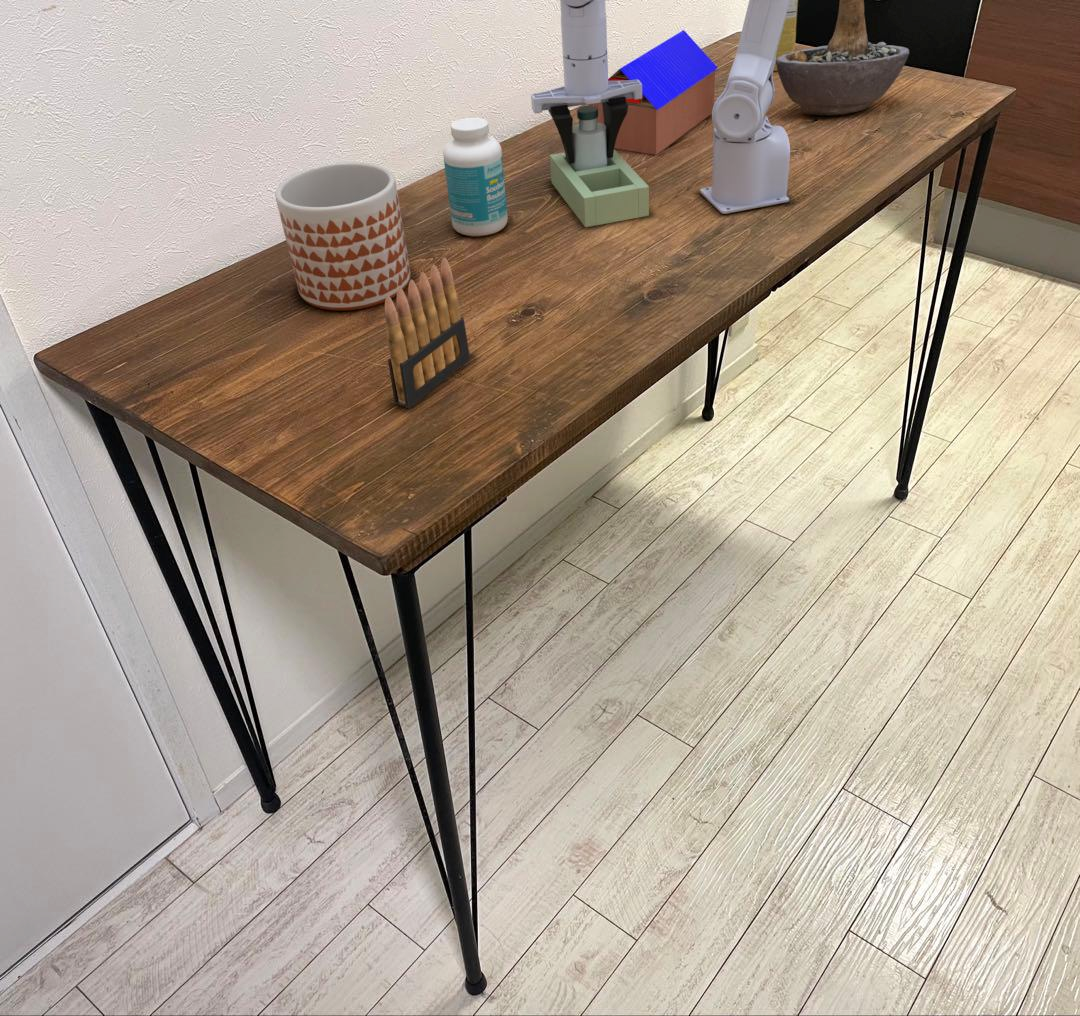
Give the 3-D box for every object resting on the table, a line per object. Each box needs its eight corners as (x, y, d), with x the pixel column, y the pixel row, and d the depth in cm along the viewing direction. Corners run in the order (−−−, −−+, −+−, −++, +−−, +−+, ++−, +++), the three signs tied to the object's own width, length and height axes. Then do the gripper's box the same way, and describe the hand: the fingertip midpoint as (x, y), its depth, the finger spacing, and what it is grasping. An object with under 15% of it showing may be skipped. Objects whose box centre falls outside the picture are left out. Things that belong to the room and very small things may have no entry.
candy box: (756, 57, 181) (762, -38, 172) (780, 54, 181) (787, -41, 172) (769, 72, 175) (775, -26, 165) (793, 69, 175) (802, -29, 165)
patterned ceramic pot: (379, 318, 117) (359, 213, 109) (277, 305, 122) (251, 203, 113) (429, 265, 127) (414, 164, 119) (334, 254, 131) (313, 157, 123)
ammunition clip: (457, 354, 110) (442, 251, 102) (470, 358, 109) (457, 255, 102) (394, 404, 103) (373, 298, 96) (408, 409, 103) (388, 302, 95)
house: (716, 111, 162) (719, 33, 154) (657, 156, 149) (657, 73, 142) (649, 102, 167) (649, 26, 160) (586, 144, 155) (583, 64, 147)
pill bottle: (501, 239, 131) (490, 134, 123) (446, 238, 133) (431, 134, 124) (514, 215, 137) (504, 113, 128) (461, 213, 138) (448, 113, 130)
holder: (610, 172, 146) (609, 144, 143) (649, 215, 134) (649, 186, 131) (551, 182, 144) (549, 154, 142) (585, 227, 132) (583, 198, 130)
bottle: (603, 173, 143) (600, 101, 137) (611, 186, 140) (609, 112, 133) (569, 178, 143) (565, 105, 136) (577, 191, 139) (573, 117, 133)
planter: (766, 119, 157) (776, -23, 145) (820, 87, 167) (834, -49, 154) (855, 137, 149) (874, -12, 137) (906, 102, 159) (928, -40, 146)
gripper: (535, 70, 126) (542, 176, 135) (648, 54, 128) (648, 161, 137) (525, 54, 132) (533, 157, 141) (633, 39, 133) (635, 143, 142)
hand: (589, 158), depth 139 cm, fingers closed on bottle, 5 cm apart
